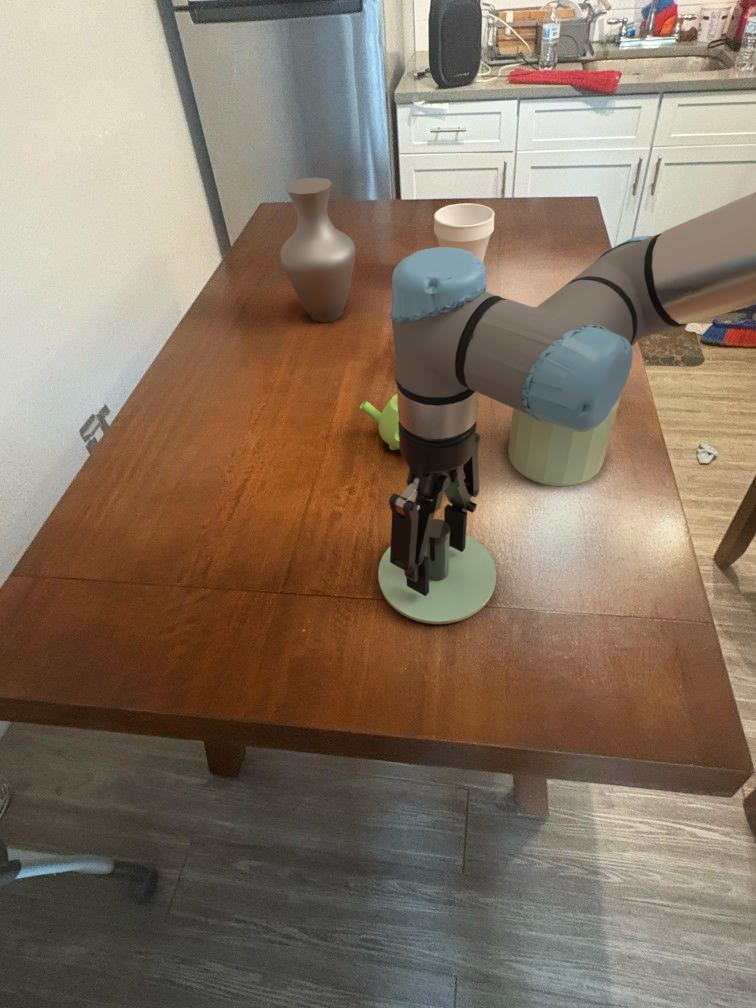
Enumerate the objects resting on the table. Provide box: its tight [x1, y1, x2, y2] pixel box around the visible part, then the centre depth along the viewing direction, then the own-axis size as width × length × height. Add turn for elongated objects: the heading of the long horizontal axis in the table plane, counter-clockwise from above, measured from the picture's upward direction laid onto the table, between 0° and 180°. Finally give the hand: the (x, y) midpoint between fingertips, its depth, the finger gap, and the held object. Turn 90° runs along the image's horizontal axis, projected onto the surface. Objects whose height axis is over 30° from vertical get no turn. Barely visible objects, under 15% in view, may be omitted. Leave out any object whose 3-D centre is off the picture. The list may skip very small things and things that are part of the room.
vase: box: [279, 176, 356, 323], centre depth 116 cm, size 14×14×25 cm
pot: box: [507, 392, 623, 487], centre depth 85 cm, size 14×19×14 cm
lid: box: [377, 518, 497, 625], centre depth 73 cm, size 15×15×9 cm
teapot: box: [359, 393, 400, 451], centre depth 92 cm, size 11×12×8 cm
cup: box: [433, 202, 496, 263], centre depth 127 cm, size 12×12×14 cm
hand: (436, 566), depth 74 cm, fingers open, 7 cm apart
